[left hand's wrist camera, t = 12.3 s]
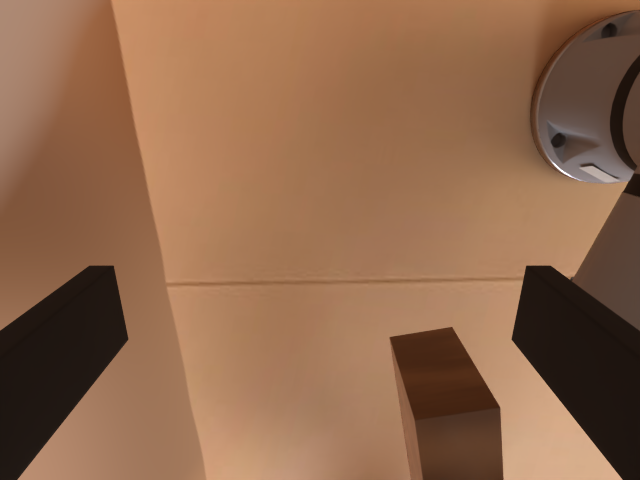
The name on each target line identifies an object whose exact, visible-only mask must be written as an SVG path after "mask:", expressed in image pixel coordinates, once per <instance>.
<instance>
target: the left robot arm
mask: <svg viewBox="0 0 640 480" xmlns="http://www.w3.org/2000/svg"><path fill="white" fill-rule="evenodd" d="M530 122H531V130H532V135H533V139H534V142H535V145H536V147H537V149H538V151H539V153H540V154H541V156H542V157H543V158H544V160H545V161H546V162H547V163H548V164H549V165H550V166H551V167H552V168H554V169H555V170H557V171H558V172H560V173H562V174H564V175H566V176H568V177H571V178H574V179H577V180H581V181H585V182H590V183H619V182H626V181H629V182H628V184H627V186H626V188H625V190H624V191H623V192H622V194H621V195H620V197H619V199H618V201H617V203H616V204H615V206H614V208H613V210H612V211H611V213H610V215H609V217H608V218H607V220H606V222H605V224H604V225H603V227H602V229H601V231H600V233H599V234H598V236H597V238H596V240H595V241H594V243H593V245H592V247H591V248H590V250H589V252H588V254H587V256H586V257H585V259H584V261H583V263H582V264H581V266H580V268H579V270H578V271H577V273H576V275H575V276H574V277H572V278H571V279H570V280H569V279H568V278H567V277H565V276H564V275H563V274H561V273H560V272H558V271H557V270H556V269H554V268H553V267H552V266H526V270H525V275H524V280H523V285H522V290H521V295H520V300H519V305H518V310H517V315H516V320H515V325H514V330H513V335H512V341H513V342H514V343H515V344H516V346H517V347H518V348H519V349H520V351H521V352H522V353H523V354H524V356H525V357H526V358H527V359H528V361H529V362H530V363H531V365H532V366H533V367H534V368H535V370H536V371H537V372H538V373H539V375H540V376H541V377H542V378H543V380H544V381H545V382H546V383H547V385H548V386H549V387H550V389H551V390H552V391H553V392H554V394H555V395H556V396H557V397H558V399H559V400H560V401H561V402H562V404H563V405H564V406H565V407H566V409H567V410H568V411H569V412H570V414H571V415H572V416H573V418H574V419H575V420H576V421H577V423H578V424H579V425H580V426H581V428H582V429H583V430H584V431H585V433H586V434H587V435H588V436H589V438H590V439H591V440H592V441H593V443H594V444H595V445H596V447H597V448H598V449H599V450H600V452H601V453H602V454H603V455H604V457H605V458H606V459H607V460H608V462H609V463H610V464H611V465H612V467H613V468H614V469H615V471H616V472H617V473H618V474H619V476H620V477H621V478H622V479H623V480H640V10H635V11H628V12H623V13H620V14H616V15H613V16H609V17H606V18H603V19H601V20H598V21H596V22H594V23H592V24H590V25H588V26H586V27H585V28H583V29H581V30H580V31H578V32H577V33H576V34H574V35H573V36H572V37H571V38H570V39H568V40H567V41H566V42H565V43H564V44H563V45H562V46H561V47H560V48H559V49H558V50H557V52H556V53H555V54H554V55H553V57H552V58H551V59H550V61H549V62H548V64H547V65H546V67H545V69H544V70H543V72H542V74H541V76H540V78H539V80H538V83H537V86H536V88H535V92H534V95H533V99H532V104H531V117H530ZM631 194H632V195H631ZM638 196H639V197H638ZM127 341H128V335H127V330H126V325H125V320H124V315H123V310H122V305H121V300H120V295H119V290H118V285H117V280H116V275H115V270H114V266H89V267H87V268H86V269H84V270H83V271H82V272H80V273H79V274H77V275H76V276H75V277H73V278H72V279H71V280H69V281H68V282H67V283H65V284H64V285H62V286H61V287H60V288H58V289H57V290H56V291H54V292H53V293H51V294H50V295H49V296H47V297H46V298H45V299H43V300H42V301H40V302H39V303H38V304H36V305H35V306H34V307H32V308H31V309H29V310H28V311H27V312H25V313H24V314H23V315H21V316H20V317H18V318H17V319H16V320H14V321H13V322H12V323H10V324H9V325H8V326H6V327H5V328H3V329H2V330H1V331H0V480H17V479H18V478H19V477H20V476H21V474H22V473H23V472H24V470H25V469H26V468H27V467H28V465H29V464H30V463H31V462H32V460H33V459H34V458H35V457H36V455H37V454H38V453H39V452H40V450H41V449H42V448H43V446H44V445H45V444H46V443H47V441H48V440H49V439H50V438H51V436H52V435H53V434H54V433H55V431H56V430H57V429H58V428H59V426H60V425H61V424H62V423H63V421H64V420H65V419H66V418H67V416H68V415H69V414H70V412H71V411H72V410H73V409H74V407H75V406H76V405H77V404H78V402H79V401H80V400H81V399H82V397H83V396H84V395H85V394H86V392H87V391H88V390H89V388H90V387H91V386H92V385H93V383H94V382H95V381H96V380H97V378H98V377H99V376H100V375H101V373H102V372H103V371H104V369H105V368H106V367H107V366H108V365H109V363H110V362H111V361H112V359H113V358H114V357H115V356H116V354H117V353H118V352H119V351H120V349H121V348H122V347H123V346H124V344H125V343H126V342H127Z"/></svg>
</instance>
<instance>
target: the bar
mask: <svg viewBox="0 0 640 480" xmlns="http://www.w3.org/2000/svg"><path fill="white" fill-rule="evenodd" d="M390 344H391V351H392V357H393V364H394V370H395V377H396V383H397V390H398V397H399V403H400V410H401V416H402V423H403V429H404V436H405V443H406V449H407V456H408V462H409V469H410V476H411V480H503V460H502V438H501V415H500V406H499V405H498V403H497V401H496V400H495V398H494V396H493V395H492V393H491V391H490V390H489V388H488V386H487V385H486V383H485V381H484V380H483V378H482V376H481V375H480V373H479V371H478V370H477V368H476V366H475V365H474V363H473V361H472V360H471V358H470V356H469V355H468V353H467V351H466V349H465V348H464V346H463V344H462V343H461V341H460V339H459V338H458V336H457V334H456V333H455V331H454V329H453V328H452V327H449V328H443V329H437V330H431V331H425V332H419V333H412V334H406V335H400V336H394V337H390Z"/></svg>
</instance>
